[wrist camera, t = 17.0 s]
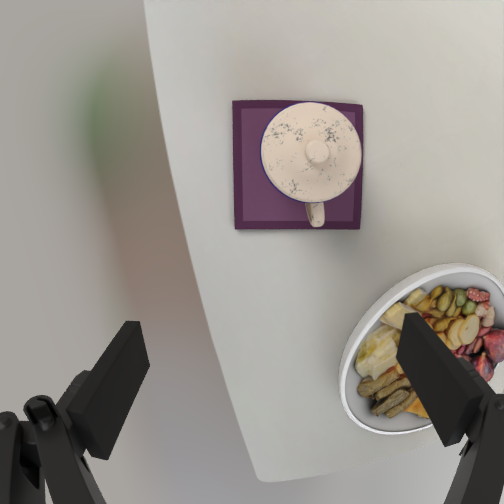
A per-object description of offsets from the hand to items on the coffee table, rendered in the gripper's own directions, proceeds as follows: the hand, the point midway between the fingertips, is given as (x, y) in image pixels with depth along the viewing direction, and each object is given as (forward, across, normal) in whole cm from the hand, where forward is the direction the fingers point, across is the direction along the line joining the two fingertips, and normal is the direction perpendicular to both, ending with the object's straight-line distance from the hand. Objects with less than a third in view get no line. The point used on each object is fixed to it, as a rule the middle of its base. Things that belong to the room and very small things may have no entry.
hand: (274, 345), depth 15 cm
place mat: (+24, +4, +7) cm, 26 cm away
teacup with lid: (+24, +4, +7) cm, 25 cm away
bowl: (+24, +24, -19) cm, 40 cm away
